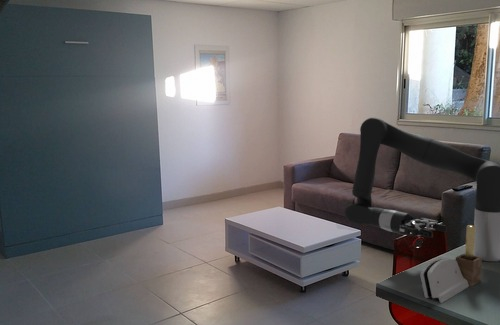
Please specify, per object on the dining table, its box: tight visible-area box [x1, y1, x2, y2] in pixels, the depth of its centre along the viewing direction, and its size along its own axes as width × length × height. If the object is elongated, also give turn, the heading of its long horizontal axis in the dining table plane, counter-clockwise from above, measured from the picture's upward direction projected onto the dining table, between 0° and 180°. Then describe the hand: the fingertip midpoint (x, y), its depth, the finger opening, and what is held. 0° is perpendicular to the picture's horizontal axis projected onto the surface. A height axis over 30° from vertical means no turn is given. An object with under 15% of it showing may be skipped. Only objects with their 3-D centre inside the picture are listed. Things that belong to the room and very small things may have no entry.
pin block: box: [455, 252, 483, 287], centre depth 140 cm, size 5×5×8 cm
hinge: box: [419, 258, 470, 304], centre depth 134 cm, size 17×5×10 cm, turn 129°
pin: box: [464, 224, 476, 261], centre depth 139 cm, size 2×2×15 cm
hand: (439, 231), depth 146 cm, fingers open, 8 cm apart
